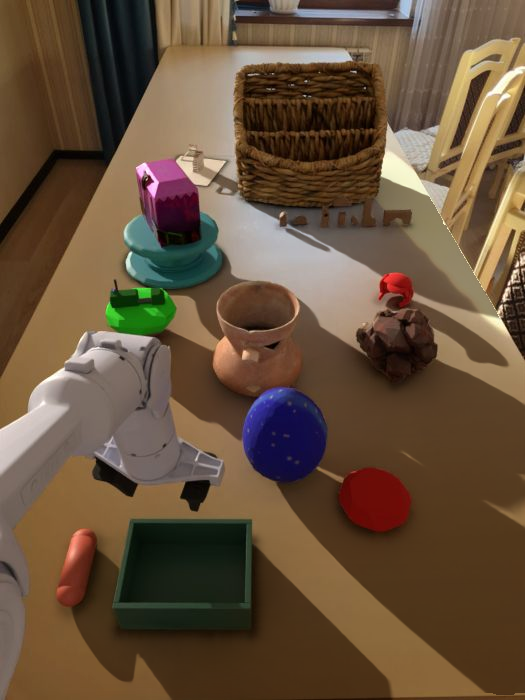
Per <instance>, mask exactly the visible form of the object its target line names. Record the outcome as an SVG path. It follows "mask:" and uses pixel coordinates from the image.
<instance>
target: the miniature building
mask: <svg viewBox="0 0 525 700" xmlns="http://www.w3.org/2000/svg"><path fill="white" fill-rule="evenodd" d="M113 285H114V288H115V289H114V288H110V291H109V302H108V303H107V305H106V310H105V313H104V315H105V318H106V323H107V326H108V327H110V328H111V329H112V330H114V331H115V332H116V333H122V334H130V335H138V336H147V337H156V336H159V335H160V334H162V333H163V332H164V331H165V330H166V328H168V326H169V324H171V322H172V321H173V319H174V318H175V316H176V313H177V306H176V304H175V303H174V300H173V299H172V297H171V295H169V293H168V292H167V291H166V290H164V289H162V288H155V287H132V288H128V289H119V286H118V282H117V279H116V278H114V279H113Z"/></svg>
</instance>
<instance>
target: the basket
mask: <svg viewBox="0 0 525 700" xmlns="http://www.w3.org/2000/svg"><path fill="white" fill-rule="evenodd" d="M233 89H234V90H233V102H234V103H233V108H232V115H233V122H234V124H233V128H234V138H235V141H234V154H235V159H234V160H235V165H236V166H235V169H236V176H237V177H236V178H238V179H237V188H238V189H239V190H238V194H239V196H240V197H241V198H242V199H243V200H245V201H254V202H260V203H263V204H264V203H265V204H269V205H270V204H273V205H283V206H286V207H289V206H292V207H297V206H299V207H305V208H308V207H309V208H312V207H314V206H315V207H317V208H319V207H322V206H325V207H327V208H330V206H333V207H335V206H334V205H333V202H335V201H336V200H337V199H338V198H339V197H340V196H342V195H344V196H345V197H346V198H347V199H348V200H349V201H350V202H351V204H355V203H356V204H360V203H362V202H364V200H365V198H372V199H373V198H376V197H377V196H378V195H379V193H380V187H381V183H380V181H382V179H381V176H382V173H383V172H382V169H383V164H384V158H385V155H386V147H387V131H388V125H389V124H388V122H389V120H388V117H387V116H388V110H387V100H386V89H385V82H384V76H383V71H382V69H381V67H380V64H378V63H376V62H367V61H366V62H365V61H361V60H360V61H356V60H346V61H339V62H338V61H337V62H336V61H332V62H331V61H330V62H327V61H322V62H321V61H317V62H315V61H314V62H313V61H312V62H308V63H304V62H302V63H299V62H298V63H290V62H284V63H283V62H281V61H277V62H275V63H274V62H266V63H265V62H262V63H259V64H258V63H256V64H254V63H251V64H245V65H243V66H242V67H240V69H239V70H237V72H235V77H234V84H233Z"/></svg>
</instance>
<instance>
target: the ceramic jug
mask: <svg viewBox="0 0 525 700" xmlns="http://www.w3.org/2000/svg"><path fill="white" fill-rule="evenodd" d="M300 308H301V304H300V301H299V299H298V297H297V295H295V294H294V292H292V291H291V290H290V289H288V288H287V287H286V286H284V285H282V284H279V283H277V282H271V281H269V280H268V281H267V280H251V281H250V280H249V281H244V282H240V283H238V284H235V285H232V286H230V287H229V288H228V289H226V290H225V291H224V292H222V294H221V295H220V296H219V298H218V299H217V302H216V315H217V319H218V323H219V325H220V328H221V331H222V332H223V334H224V336H223V338H221V340H220V341H218V343H217V345H216V346H215V348H214V351H213V355H212V359H211V360H212V361H211V362H212V363H211V364H212V367H213V371H214V372H215V374H216V376H217V378H218V380H219V381H220V383H222V384H223V385H224V386H225V387H226V388H228V389H229V390H230V391H233V392H235V393H237V394H240V395H243V396H248V397H256V398H259V396H260V395H261V394H262V393H264V392H265V391H267V390H269V389H272V388H277V387H288V388H290V387H291V386H292V385H293V384H294V383H295V382H296V381H297V379H298V378H299V377H300V375H301V373H302V370H303V366H304V356H303V352H302V349H301V347H300V346H299V344H298V342H297V341H295V339H294V338H293V337H292V336H291V335H292V332H294V329H295V327H296V324H297V322H298V320H299V315H300V312H301V311H300V310H301V309H300Z"/></svg>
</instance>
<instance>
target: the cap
mask: <svg viewBox="0 0 525 700" xmlns="http://www.w3.org/2000/svg"><path fill="white" fill-rule="evenodd" d="M378 286H379V287H378V288H379V296H378V297H377V299H378V301H381V300H382V299H383V297H384V296H385V295H386V294H389V293H391V294H395V295H401V296H402V297H403V300H402V301H401V302H400V303H398V307H399V308H402V307H406V305H408V304H410V302H411V301H412V299H413V297H414V289H413V282H412V280H411V279H410V277H409V276H408V275H407V274H404V273H402V272H391V273H386V274H384V276H383V277H381V279H380V280H379V284H378Z"/></svg>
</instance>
